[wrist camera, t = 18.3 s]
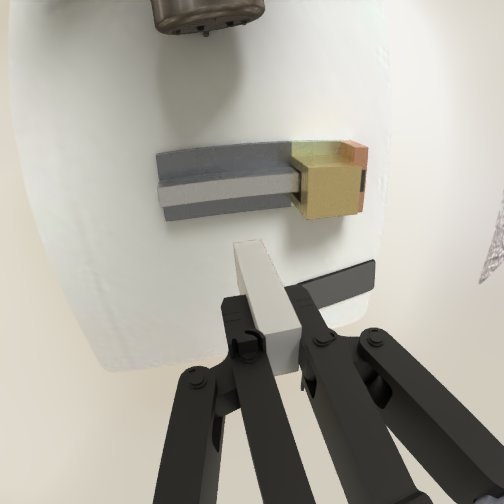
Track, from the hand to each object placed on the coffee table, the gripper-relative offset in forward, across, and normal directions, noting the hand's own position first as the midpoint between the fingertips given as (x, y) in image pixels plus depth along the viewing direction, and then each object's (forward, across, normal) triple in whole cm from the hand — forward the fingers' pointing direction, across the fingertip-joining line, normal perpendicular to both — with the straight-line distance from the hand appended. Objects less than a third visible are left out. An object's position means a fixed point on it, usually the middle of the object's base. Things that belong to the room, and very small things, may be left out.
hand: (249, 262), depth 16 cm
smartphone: (+25, +19, -24) cm, 39 cm away
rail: (+24, +6, -3) cm, 25 cm away
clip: (+23, +13, -4) cm, 27 cm away
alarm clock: (+25, 0, +18) cm, 31 cm away
